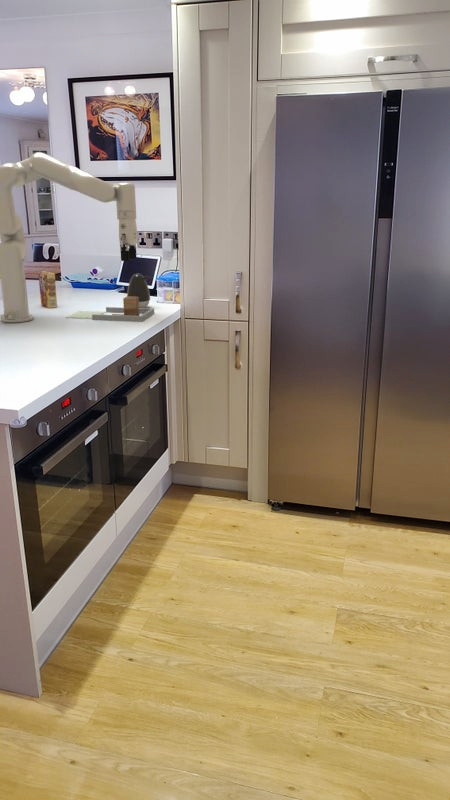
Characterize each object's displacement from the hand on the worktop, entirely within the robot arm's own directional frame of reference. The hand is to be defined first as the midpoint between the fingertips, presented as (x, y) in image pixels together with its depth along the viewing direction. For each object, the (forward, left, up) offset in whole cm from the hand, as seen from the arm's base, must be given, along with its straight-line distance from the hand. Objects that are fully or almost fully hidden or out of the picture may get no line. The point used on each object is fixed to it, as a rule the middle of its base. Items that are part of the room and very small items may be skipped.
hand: (128, 259), depth 253 cm
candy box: (+16, +44, -24) cm, 52 cm away
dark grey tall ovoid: (+20, +3, -24) cm, 31 cm away
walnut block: (0, +3, -23) cm, 24 cm away
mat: (0, +20, -23) cm, 31 cm away
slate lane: (0, +3, -23) cm, 24 cm away
